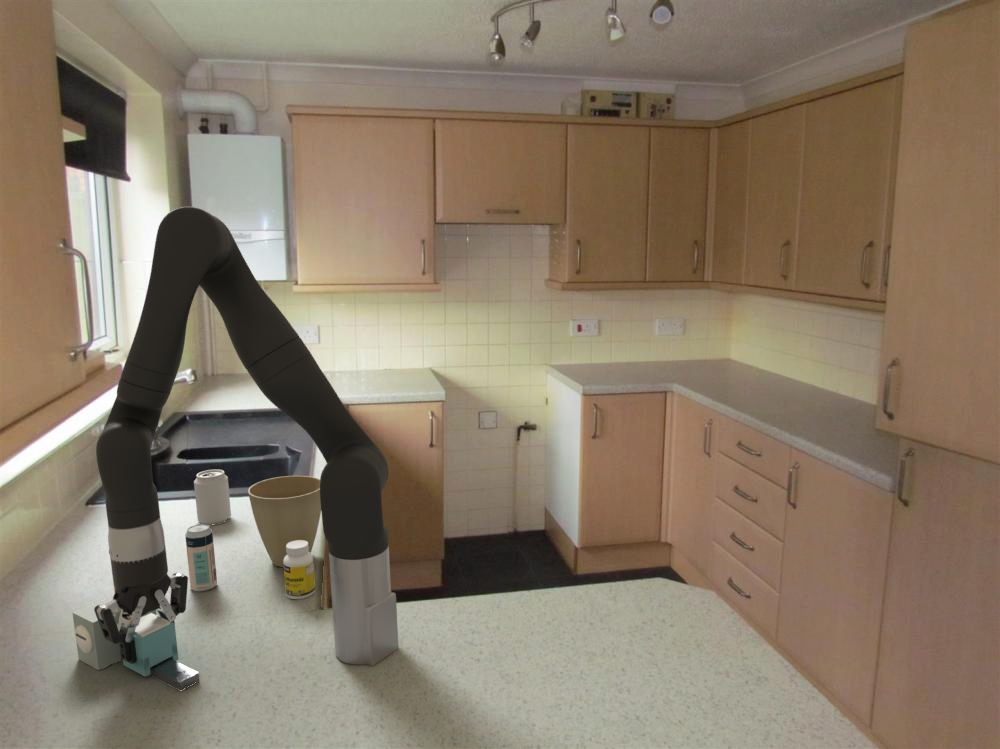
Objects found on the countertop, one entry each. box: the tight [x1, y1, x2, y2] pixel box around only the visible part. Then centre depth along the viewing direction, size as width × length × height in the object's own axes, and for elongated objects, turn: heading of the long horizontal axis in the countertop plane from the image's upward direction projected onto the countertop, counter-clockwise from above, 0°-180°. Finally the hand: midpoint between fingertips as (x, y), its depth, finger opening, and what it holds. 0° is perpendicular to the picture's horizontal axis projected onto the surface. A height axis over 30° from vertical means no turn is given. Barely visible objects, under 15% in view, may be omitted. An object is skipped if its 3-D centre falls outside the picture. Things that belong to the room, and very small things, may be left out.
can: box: [193, 469, 232, 526], centre depth 173 cm, size 8×8×12 cm
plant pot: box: [247, 475, 322, 568], centre depth 150 cm, size 15×15×16 cm
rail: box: [120, 653, 200, 691], centre depth 112 cm, size 16×3×2 cm, turn 57°
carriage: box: [122, 613, 179, 677], centre depth 112 cm, size 6×5×6 cm
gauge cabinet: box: [72, 595, 158, 671], centre depth 117 cm, size 6×10×8 cm, turn 147°
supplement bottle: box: [283, 540, 316, 600], centre depth 135 cm, size 5×5×10 cm
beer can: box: [184, 523, 218, 593], centre depth 138 cm, size 5×5×12 cm
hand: (150, 651), depth 113 cm, fingers closed on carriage, 5 cm apart
